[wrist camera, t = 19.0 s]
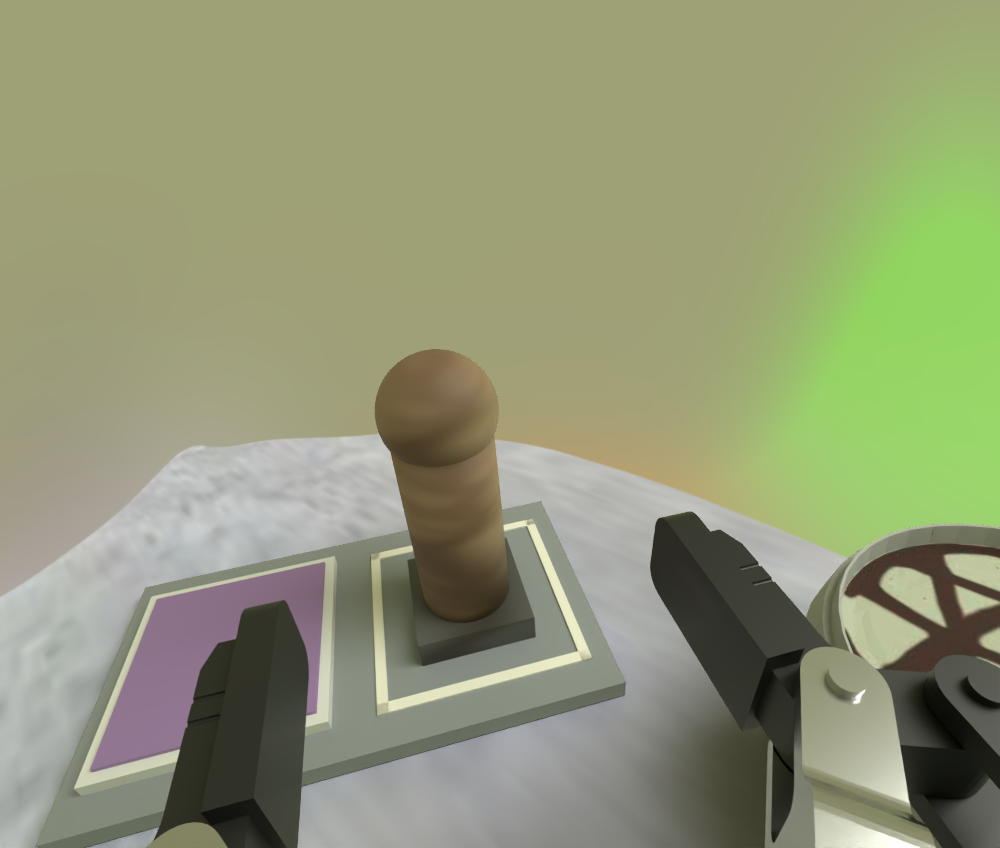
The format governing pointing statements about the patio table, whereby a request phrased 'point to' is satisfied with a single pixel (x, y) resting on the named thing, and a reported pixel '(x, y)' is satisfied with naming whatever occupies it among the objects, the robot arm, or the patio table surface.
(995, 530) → the food container
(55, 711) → the patio table surface
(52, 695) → the patio table surface
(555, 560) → the stamping board
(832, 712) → the robot arm
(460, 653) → the stamp
